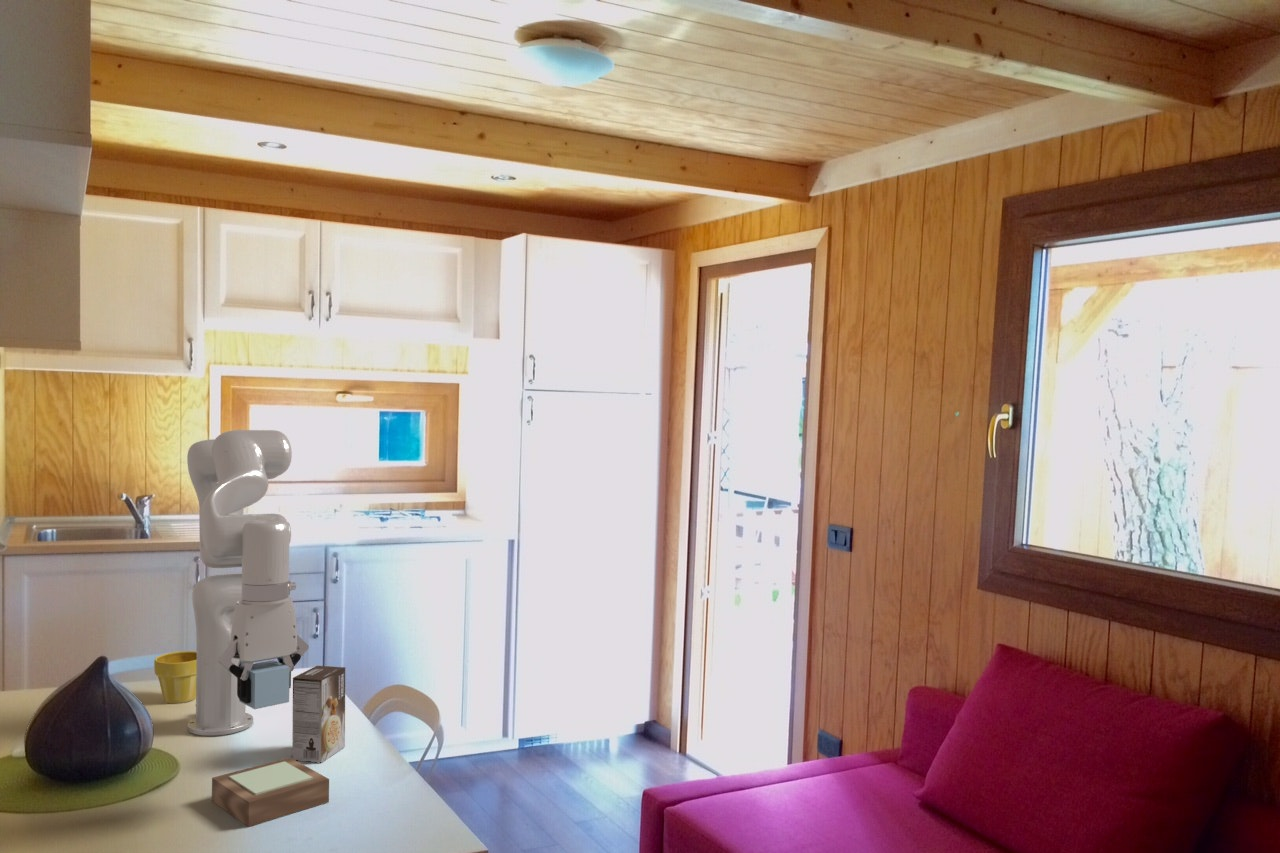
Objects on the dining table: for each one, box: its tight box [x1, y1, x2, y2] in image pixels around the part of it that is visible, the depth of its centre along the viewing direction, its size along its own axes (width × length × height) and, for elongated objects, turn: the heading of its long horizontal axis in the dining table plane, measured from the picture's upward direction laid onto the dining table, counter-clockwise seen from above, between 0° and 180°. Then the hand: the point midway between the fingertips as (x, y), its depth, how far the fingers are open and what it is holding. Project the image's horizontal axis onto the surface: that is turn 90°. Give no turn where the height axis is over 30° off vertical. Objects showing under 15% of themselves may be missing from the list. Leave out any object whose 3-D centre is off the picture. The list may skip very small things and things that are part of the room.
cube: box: [239, 659, 290, 710], centre depth 166 cm, size 6×6×6 cm
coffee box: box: [291, 665, 346, 763], centre depth 189 cm, size 9×6×16 cm
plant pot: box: [153, 650, 197, 705], centre depth 221 cm, size 10×10×10 cm
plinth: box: [211, 756, 330, 828], centre depth 167 cm, size 14×14×4 cm
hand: (264, 696), depth 166 cm, fingers closed on cube, 6 cm apart
